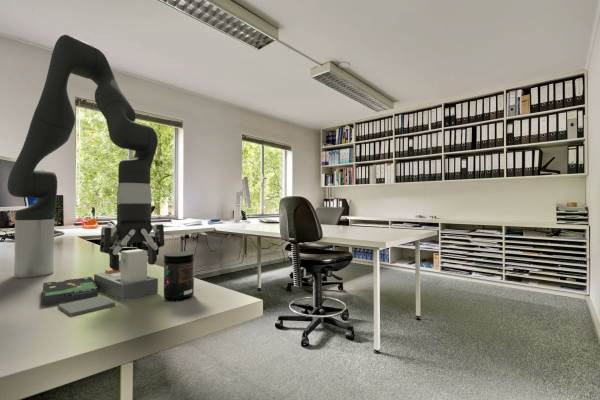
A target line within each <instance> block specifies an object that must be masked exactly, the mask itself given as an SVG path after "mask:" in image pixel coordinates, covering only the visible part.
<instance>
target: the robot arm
mask: <svg viewBox="0 0 600 400" xmlns="http://www.w3.org/2000/svg"><path fill="white" fill-rule="evenodd" d="M49 61H50V62H49V66H48V69H47V75H46V79H45V83H44V86H43V88H42V92H41V94H40V98H39V100H38V103H37V105H36V108H35V111H34V113H33V115H32V119H31V121H30V124H29V127H28V131H27V134H26V137H25V141H24V142H23V146H22V148H21V149H20V150H21V151H20V152H19V154H18V156H17V158H16V160H15V162H14V165H13V166H12V169H10V172H9V176H8V179H7V185H6V187H7V192H8V193H9V194H10V196H12V197H16V198H30V199H32V198H33V199H36V198H37V201H36V202H35V203H34V204H32V205H30V206H27V207H24V208H21V209H18V210H16V211H15V213H14V258H13V259H14V263H13V264H14V265H13V266H14V269H13V271H14V272H13V277H14V278H33V277H34V278H35V277H40V276H47V275H50V274H53V273H54V269H55V268H54V265H55V264H54V261H55V213H56V207H57V196H58V194H57V193H58V178H57V175H56V173H55V172H54V171H53V170H51V169H45V168H37V166H38V164H39V163H40V162H41V161H42V160H43V159H45V157H47V156H48V155H50V154H52V153H54V152H55V151H57V150H58V149H59V148H61V147H63V146H64V145H65V144H66V143H67V142H68V140H69V139H70V137H71V134H72V131H73V129H74V127H75V123H76V115H75V111H74V109H73V106H72V103H71V101H70V97H69V95H68V82H69V78H70V75H71V74H73V75H75V76H77V77H81V78H84V79H89V80H91V81H92V82H93V83H94V84H96V86H97V87H96V89H95V91H94V101H95V104H96V106H97V109H99V111H100V113H101V114H102V116H103V117H104V119H105V120H106V125H107V130H108V135H109V139H110V140H111V142H112V143H113V144H114V145H115V146H116V147H118V148H120V149H124V150H129V151H134V155H133V157H132V158H128V159H123V160H121V161H120V162H119V163H118V171H117V174H118V175H117V176H118V179H117V180H118V182H117V183H118V185H117V191H116V226H115V227H114V226H113V227H111V226H110V227H109V226H102V227H101V230H100V244H99V245H100V246H99V251H100V252H101V253H104V254H108V256H109V262H108V263H109V265H108V266H109V269H112V270H114V271H118V270H119V261H120V255H119V253H120V252H121V251H122V249H123V248H124V247H126V245H127V244H130V245H131V244H134V243H143V244H145V245H146V247H148V249H147V265H149V266H150V265H154V266H155V264H156V262H157V260H158V254H157V253H158V249H159V248H162V247H165V229H164V224H161V223H155V224H152V222H151V221H152V201H153V200H152V199H153V198H152V188H151V168H152V164H153V161H154V159H155V158H154V157H155V155H156V151H157V148H158V145H159V138H158V135H157V132H156V131H155V129H154V128H153V127H152V126H151V125H147V124H144V123H139V122H136V118H137V114H136V112H135V109H134V108H133V106H132V105H131V104H130V102H129V101H128V99H127V98H126V96H125V94H124V93H123V92H122V90H121V88H120V87H119V85H118V81H117V80H116V77H115V75H114V72H113V70H112V68H111V66H110V64H109V61H108V59H107V57H106V55H105V53H104V52H103V51H102V50H101V49H100V48H98V47H96V46H95V45H92V44H89V43H87V42H85V41H83V40H81V39H79V38H77V37H74V36H71V35H69V34H63V35H61V36H59V37H58V39H57V40H56V42H55V44H54V47H53V49H52V53H51V58H50V60H49ZM152 231H153V233H154V238H155V239H153V237H152V236H151V235H150V234H151V232H152ZM115 233H116V235H117V236H118V237H117V238H116V240H114V242H113V244H112V246H111V239H112V237H113V236H114V234H115ZM154 240H155V241H154Z"/></svg>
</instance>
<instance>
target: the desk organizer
mask: <svg viewBox="0 0 600 400" xmlns="http://www.w3.org/2000/svg"><path fill="white" fill-rule="evenodd" d="M93 280H94V282H95V283H96V285H97V289H98V291H101V292H103V293H106V294H108V295H110V296H113V297H114V298H117V299H120V300H121V301H127V300H131V299H136V298H140V297H144V296H149V295H153V294H157V293H159V288H158V287H159V278H157V277H154V276H151V275H148V274H147V280H142V281H137V282H132V283H127V284H124V283H121V282H120V281H121V269H120V268H119V270H118V271H114V270H112V268H108V269H107V268H106V269H105V270H104V271H103V272H97V273H94V274H93Z"/></svg>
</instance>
